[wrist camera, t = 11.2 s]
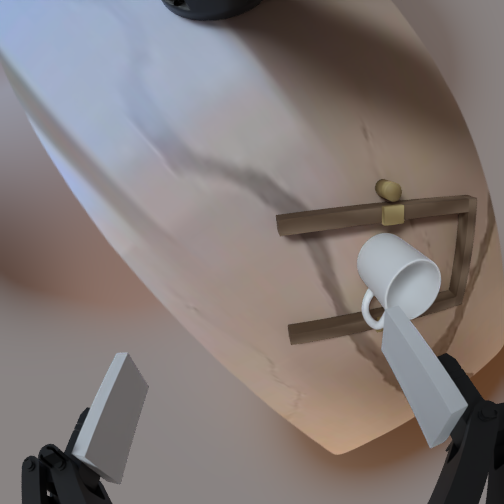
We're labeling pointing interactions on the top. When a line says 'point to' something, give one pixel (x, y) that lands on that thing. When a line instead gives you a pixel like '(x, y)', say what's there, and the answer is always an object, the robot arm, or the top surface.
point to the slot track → (387, 216)
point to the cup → (396, 277)
